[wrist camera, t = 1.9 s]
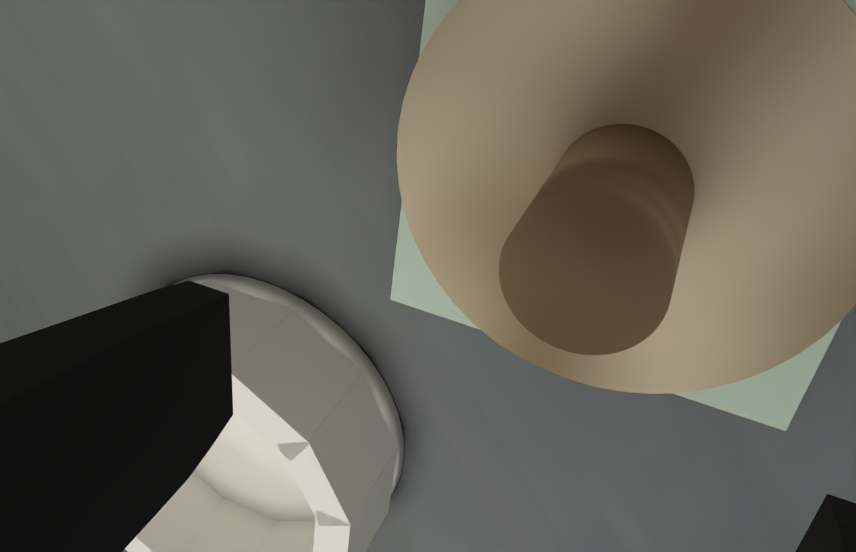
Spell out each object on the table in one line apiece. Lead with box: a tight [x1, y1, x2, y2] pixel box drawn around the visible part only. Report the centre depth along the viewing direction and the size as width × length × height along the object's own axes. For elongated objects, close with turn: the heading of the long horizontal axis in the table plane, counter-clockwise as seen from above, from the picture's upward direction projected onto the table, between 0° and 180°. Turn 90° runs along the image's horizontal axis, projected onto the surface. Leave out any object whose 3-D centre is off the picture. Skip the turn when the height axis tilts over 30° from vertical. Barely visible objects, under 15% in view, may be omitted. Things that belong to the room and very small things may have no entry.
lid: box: [397, 0, 856, 394], centre depth 14 cm, size 10×10×5 cm
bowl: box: [125, 274, 404, 552], centre depth 23 cm, size 10×10×4 cm
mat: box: [390, 0, 856, 431], centre depth 17 cm, size 10×10×1 cm
